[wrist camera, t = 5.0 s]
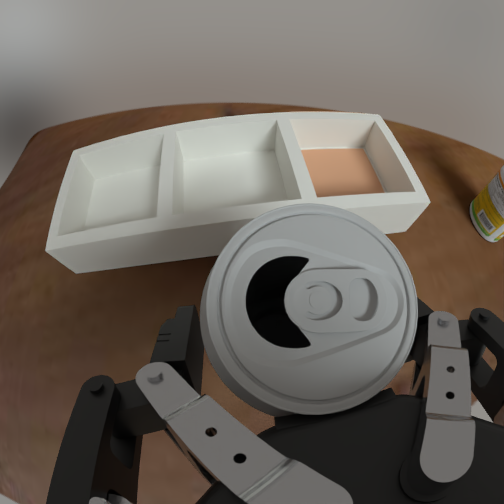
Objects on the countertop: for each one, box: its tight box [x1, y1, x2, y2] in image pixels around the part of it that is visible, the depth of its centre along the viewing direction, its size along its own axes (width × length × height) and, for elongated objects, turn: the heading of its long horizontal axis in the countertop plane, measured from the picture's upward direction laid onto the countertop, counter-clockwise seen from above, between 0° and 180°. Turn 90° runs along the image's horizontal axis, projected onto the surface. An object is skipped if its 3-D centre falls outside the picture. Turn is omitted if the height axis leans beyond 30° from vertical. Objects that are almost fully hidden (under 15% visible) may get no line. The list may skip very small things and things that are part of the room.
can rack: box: [45, 111, 430, 274], centre depth 20 cm, size 28×10×4 cm, turn 98°
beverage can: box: [200, 203, 418, 417], centre depth 12 cm, size 6×6×12 cm
